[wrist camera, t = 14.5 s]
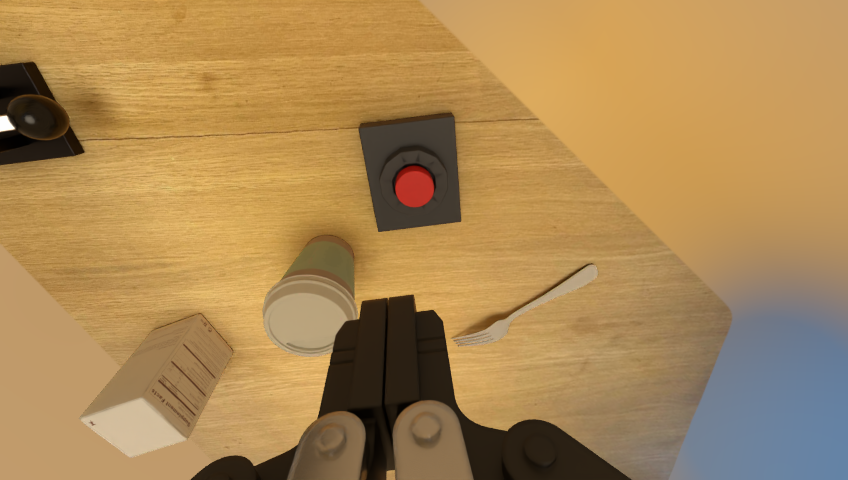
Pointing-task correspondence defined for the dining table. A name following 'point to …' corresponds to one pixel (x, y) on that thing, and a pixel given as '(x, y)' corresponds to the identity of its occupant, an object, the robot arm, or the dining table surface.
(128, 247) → the dining table surface
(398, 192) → the button
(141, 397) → the white packaging box
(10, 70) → the bracket
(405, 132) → the button block
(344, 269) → the coffee cup
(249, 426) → the dining table surface
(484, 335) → the fork
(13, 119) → the lever
